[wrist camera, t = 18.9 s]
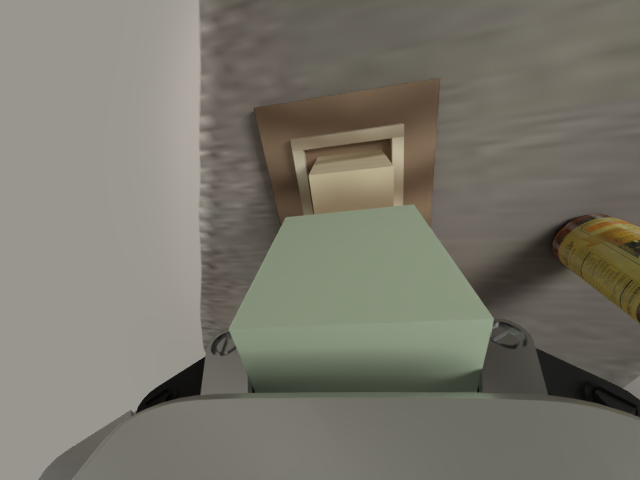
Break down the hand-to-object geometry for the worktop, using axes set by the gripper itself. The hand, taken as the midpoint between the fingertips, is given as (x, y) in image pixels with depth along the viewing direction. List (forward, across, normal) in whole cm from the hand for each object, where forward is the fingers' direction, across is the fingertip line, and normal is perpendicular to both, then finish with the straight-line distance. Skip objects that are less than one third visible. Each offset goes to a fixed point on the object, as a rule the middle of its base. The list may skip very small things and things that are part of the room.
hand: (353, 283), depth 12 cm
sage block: (+2, 0, 0) cm, 2 cm away
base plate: (+17, 0, 0) cm, 17 cm away
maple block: (+16, 0, 0) cm, 16 cm away
